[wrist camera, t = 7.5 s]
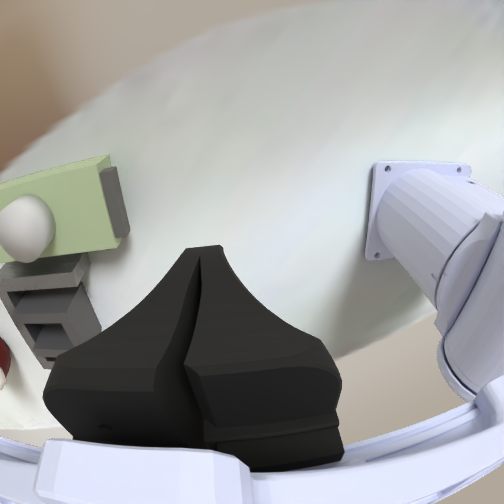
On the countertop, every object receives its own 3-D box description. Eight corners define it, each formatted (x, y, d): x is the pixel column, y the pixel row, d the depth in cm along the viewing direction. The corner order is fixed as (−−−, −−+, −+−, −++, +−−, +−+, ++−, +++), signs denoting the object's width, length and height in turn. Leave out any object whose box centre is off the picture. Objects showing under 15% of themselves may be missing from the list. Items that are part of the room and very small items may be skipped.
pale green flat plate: (120, 152, 18) (95, 171, 14) (136, 229, 21) (120, 263, 17) (-7, 186, 18) (-40, 209, 14) (14, 247, 20) (-12, 277, 17)
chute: (82, 281, 23) (66, 312, 19) (102, 325, 25) (90, 358, 22) (30, 285, 23) (11, 314, 19) (51, 326, 25) (37, 356, 22)
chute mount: (85, 250, 21) (71, 272, 19) (125, 347, 27) (119, 371, 24) (7, 260, 21) (-9, 280, 18) (53, 347, 26) (43, 368, 24)
